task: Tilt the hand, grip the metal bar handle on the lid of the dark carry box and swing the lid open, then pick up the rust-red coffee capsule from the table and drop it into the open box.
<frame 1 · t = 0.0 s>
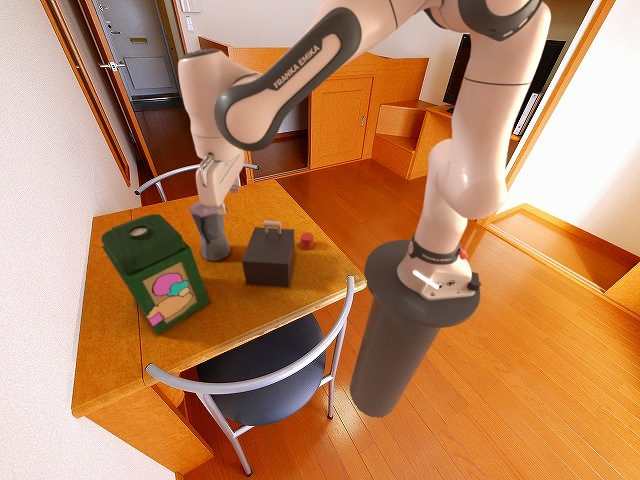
hand: (229, 201, 65), 27 cm above the table, tool pointing down, fingers open, 8 cm apart
dark carry box: (272, 268, 86), on the table
container: (175, 302, 75), on the table
moka pot: (217, 253, 91), on the table
coffee capsule: (306, 245, 96), on the table
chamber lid: (269, 239, 79), point 11 cm above the table, hinge at 0.0°
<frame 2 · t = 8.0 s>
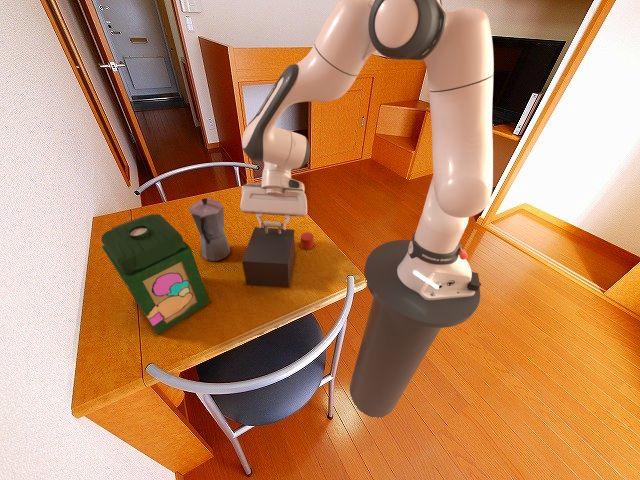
hand: (272, 229, 83), 12 cm above the table, tool tilted 45°, fingers closed on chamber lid, 5 cm apart
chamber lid: (269, 239, 79), point 11 cm above the table, hinge at 0.0°, touching gripper
everything else where it was.
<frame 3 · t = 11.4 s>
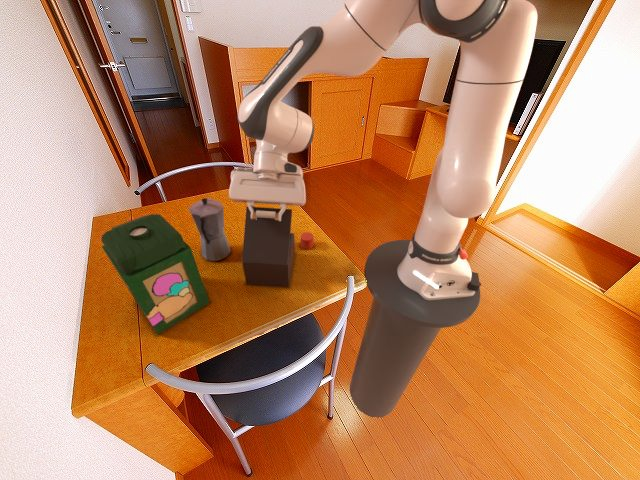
hand: (266, 220, 73), 20 cm above the table, tool tilted 45°, fingers closed on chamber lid, 5 cm apart
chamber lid: (265, 234, 73), point 16 cm above the table, hinge at 45.0°, touching gripper
everything else where it was.
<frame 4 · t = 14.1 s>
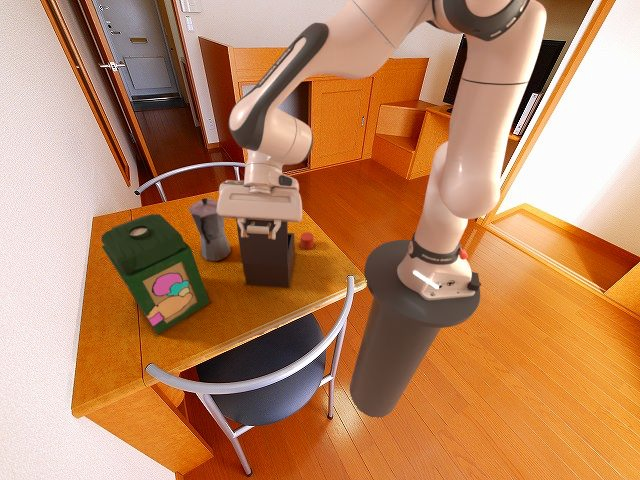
hand: (258, 238, 65), 21 cm above the table, tool tilted 45°, fingers closed on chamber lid, 5 cm apart
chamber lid: (261, 244, 69), point 17 cm above the table, hinge at 82.2°, touching gripper
everything else where it was.
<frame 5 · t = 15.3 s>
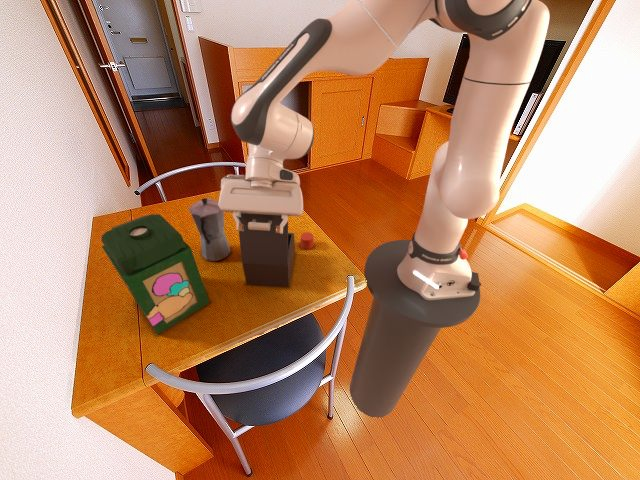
hand: (259, 232, 66), 21 cm above the table, tool tilted 45°, fingers open, 8 cm apart
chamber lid: (261, 242, 69), point 17 cm above the table, hinge at 77.0°
everything else where it was.
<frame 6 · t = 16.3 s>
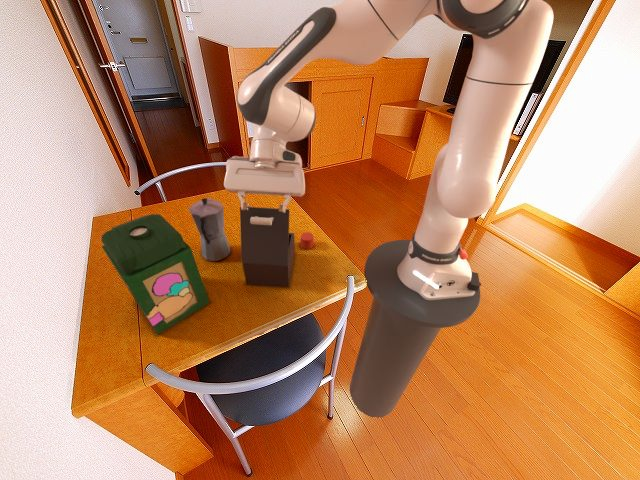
hand: (263, 211, 69), 24 cm above the table, tool tilted 45°, fingers open, 8 cm apart
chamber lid: (263, 239, 70), point 17 cm above the table, hinge at 67.7°, touching gripper
everything else where it was.
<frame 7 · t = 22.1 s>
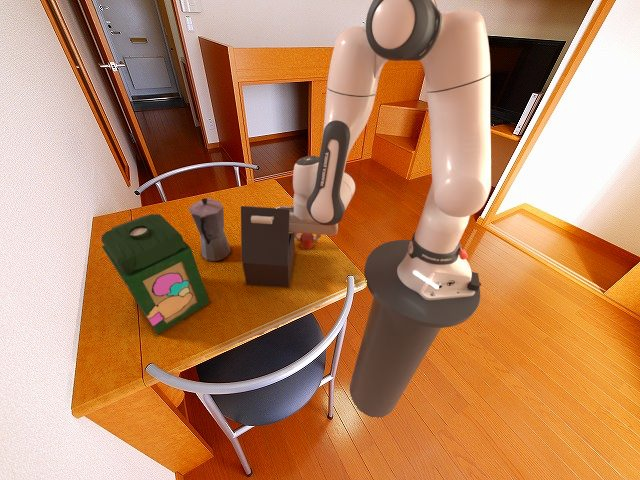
hand: (307, 241, 94), 2 cm above the table, tool pointing down, fingers closed on coffee capsule, 4 cm apart
coffee capsule: (306, 245, 96), on the table, touching gripper
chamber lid: (263, 238, 71), point 17 cm above the table, hinge at 65.1°
everything else where it was.
when the fingers open (11 cm above the table, at t = 28.4 s): coffee capsule drops 9 cm, resting on dark carry box.
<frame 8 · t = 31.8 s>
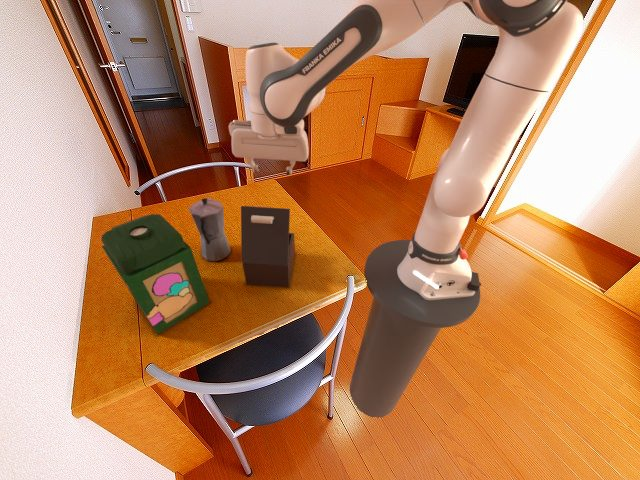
hand: (272, 172, 77), 27 cm above the table, tool pointing down, fingers open, 8 cm apart
coffee capsule: (273, 259, 88), point 1 cm above the table, touching dark carry box
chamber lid: (263, 238, 71), point 17 cm above the table, hinge at 64.4°
everything else where it was.
at the end: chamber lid at +64° (first picture: +0°); coffee capsule inside the target area in the dark carry box (3.0 cm from its centre), point 0.8 cm above the dark carry box's base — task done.
